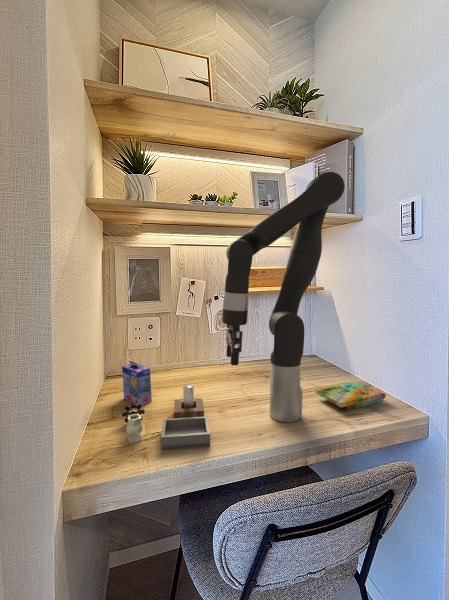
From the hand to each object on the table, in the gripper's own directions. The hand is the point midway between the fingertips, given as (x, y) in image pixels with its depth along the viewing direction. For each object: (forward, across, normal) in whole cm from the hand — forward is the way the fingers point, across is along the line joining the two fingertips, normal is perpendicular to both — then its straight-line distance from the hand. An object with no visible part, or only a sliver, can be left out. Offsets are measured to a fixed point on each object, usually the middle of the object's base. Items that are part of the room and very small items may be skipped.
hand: (232, 360), depth 94 cm
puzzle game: (+16, +6, -44) cm, 47 cm away
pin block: (+19, +3, +12) cm, 23 cm away
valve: (+21, -4, +28) cm, 35 cm away
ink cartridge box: (+21, +18, +30) cm, 40 cm away
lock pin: (+19, +3, +12) cm, 23 cm away
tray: (+19, -9, +13) cm, 25 cm away
